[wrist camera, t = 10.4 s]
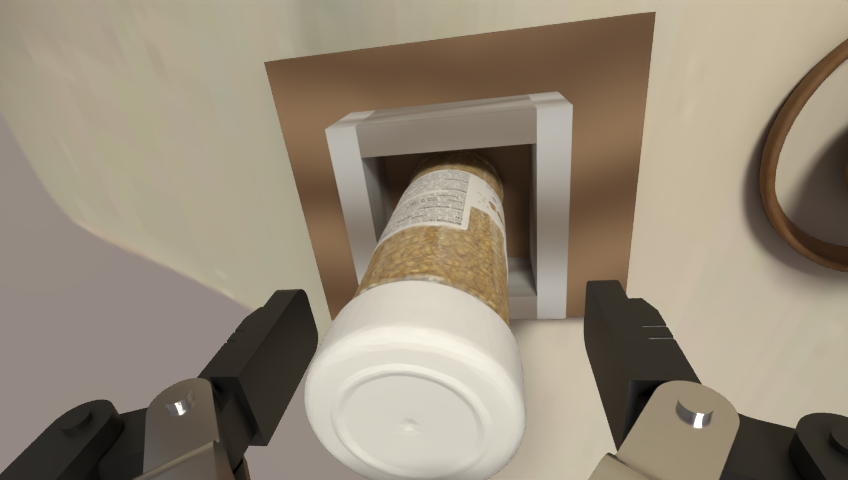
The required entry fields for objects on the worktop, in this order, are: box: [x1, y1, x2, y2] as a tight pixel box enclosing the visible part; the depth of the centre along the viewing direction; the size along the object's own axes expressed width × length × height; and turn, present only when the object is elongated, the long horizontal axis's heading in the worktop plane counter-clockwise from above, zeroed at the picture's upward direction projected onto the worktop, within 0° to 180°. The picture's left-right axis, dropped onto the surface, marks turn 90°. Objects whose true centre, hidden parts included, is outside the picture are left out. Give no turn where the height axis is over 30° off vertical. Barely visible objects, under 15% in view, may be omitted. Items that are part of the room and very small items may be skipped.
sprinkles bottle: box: [304, 149, 526, 480], centre depth 14 cm, size 5×5×14 cm
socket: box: [264, 12, 656, 320], centre depth 19 cm, size 14×16×5 cm
